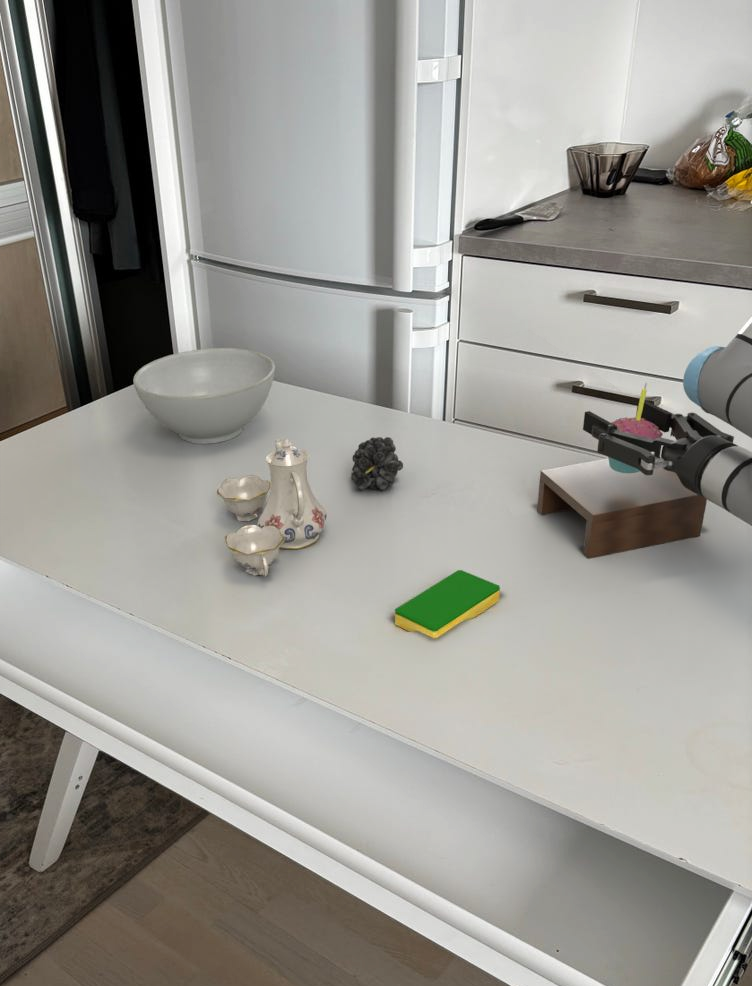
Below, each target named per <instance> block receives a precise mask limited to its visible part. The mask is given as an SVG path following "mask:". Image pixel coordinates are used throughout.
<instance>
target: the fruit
mask: <svg viewBox="0 0 752 986" xmlns="http://www.w3.org/2000/svg"><path fill="white" fill-rule="evenodd" d="M396 450H397V449H396V445H395V444H394V440H393V438H391V437H390V436H389V437H388V436H386V437H385V438H383V437H380V436H378V437H374V436H373V437H371V438H369V439H367V440H365V441H362V442H360V443H359V445H358V448H357V450H355V452H354V454H353V455H352V462H353V463H354V464H353V467H352V468H351V470H352V472H351V474H350V478H351V481H352V482H355V483H356V485H357V488H358V489H360V490H365V489H368V488H369V489H371V490H373V491H376V490H377V489H379V490H382V491H383V490H384V491H385V490H387V488H388V487H389V486H392V485H394V482H395V477H397V475H398V472H399V471H401V470H402V469H403V468H404V463H403V462H402V460H400V459H399V457H398V455H397V454H396V453H395V452H396Z"/></svg>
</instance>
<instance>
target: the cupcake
mask: <svg viewBox="0 0 752 986" xmlns="http://www.w3.org/2000/svg"><path fill="white" fill-rule="evenodd" d="M647 385H648V383H647V382H645V384H644V387H643V388H642V389H641V392H640V397H639V400H640V401H639V406H638V410H637V409H636V412H637V415H636V414H635V417H627V416H625V417H620V418H618V419H615V420H613V421H612V422H611V421H610V423H612V424H615V425H616V426H617V430H618V431H622V432H626V433H630V434H634V435H639V436H643V437H647V438H651V439H655V440H656V439H657V438H659V437H661V438H662V437H663V435H664V432H662V431H661V430H660V429H658V426H655V424H653V423H652V422H649V421H647V420H644V418H641V414H642V410H643V405H644V401H645V400H646V396H647V391H648V390H647ZM607 458H608V459H609V465H610V467H611V468H612V469H613V470H615V471H617V472H621V473H636V472H639V471H640V470H638V469H637V468H634V467H632V466H629V465H627V464H625V463H622V462H620V461H617V460H615V459H612V458H610V457H608V456H607Z"/></svg>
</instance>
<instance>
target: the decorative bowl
mask: <svg viewBox="0 0 752 986" xmlns="http://www.w3.org/2000/svg"><path fill="white" fill-rule="evenodd" d="M275 371H276V365H275V363H274V361H273V360H272V358H270V357H269V356H267V355H266V354H264V353H261V352H259V351H254V350H250V349H244V348H237V347H236V348H235V347H234V348H233V347H212V348H211V347H210V348H199V349H193V350H187V351H181V352H177V353H173V354H169V355H166V356H163V357H160V358H158V359H154V360H153V361H151V362H149V363H147V364H144V365H143V366H141V368H139V369H138V370H137V371H136V373H135V374H134V376H133V380H132V381H133V386H134V390H135V391H136V393H137V395H138V397H139V399H140V400H141V403H142V404H143V406H144V407H145V408H146V410H147V411H148V412H149V413H150V415H151V416H152V417H153V418H154V419H155V420H156V421H157V422H158V423H160V424H161V425H162V426H163V427H165V428H166V429H168V430H170V431H172V432H174V433H176V434H179V437H180V438H181V439H182V440H184V441H185V442H189V443H192V444H197V445H209V444H218V443H222V442H225V441H229V440H232V439H234V438H236V437H238V435H240V434H241V433H242V432H243V428H244V427H245V426H246V425H247V424H249V423H250V422H251V421H253V419H254V418H255V417H256V416H257V415H258V413H259V412H260V410H261V409H262V408H263V406H264V405H265V403H266V400H267V399H268V397H269V393H270V392H271V389H272V386H273V382H274V377H275V373H276V372H275Z"/></svg>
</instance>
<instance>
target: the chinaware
mask: <svg viewBox="0 0 752 986" xmlns="http://www.w3.org/2000/svg"><path fill="white" fill-rule="evenodd" d="M274 446H275V450H273V451H272V452H269V453H268V454H267V455H266V456H265V461H266V463H267V465H268V468H269V473H270V481H269V480H262V478H260V477H259V476H257V475H253V474H250V475H245V476H243V477H241V478H234V477H230V478H226V479H225V480H223V481H222V483H221V485H220V487H219V488H217V490H216V495H218V496H219V497H221V498H222V500H223V503H224V505H225V506H226V508H227V509H228V510H229V511H230V512H231V513H232V514H234V515H235V516H236V519H237V521H239V522H240V521H241V522H250V521H251V522H252V521H254V520H255V519H257V524H246V525H243V526H241V527H239V528H238V530H236V532H231V533H228V534H227V535H226V536H225V538H224V539H225V543H226V546H227V547H228V549H229V551H231V553H232V556H233V558H234V559H235V561H236V562H237V563H238V564H239V565H240V566H242V567H243V568H245V573H248V574H249V575H252V576H254V577H256V576H264V577H267V576H268V575H269V569H270V567H271V565H272V564H273V563H274V562H275V560H276V559H277V557H278V555H279V551H280V550H287V551H288V550H289V551H292V550H293V551H294V550H301V549H304V548H308V547H310V546H312V545H314V544H316V543H317V542H318V541H319V539H320V538H321V533H322V531H323V529H324V525H325V522H326V520H327V515H328V514H327V512H326V510H325V508H324V507H323V506H322V505H321V503H320V502H319V501H318V500H317V498H316V497H315V495H314V494H313V491H312V489H311V486H310V483H309V480H308V471H307V466H308V459H309V458H310V453H309V452H307V451H306V450H304V449H301V448H298V447H296V446H294V445H292V442H290V440H289V439H287V438H286V439H284V440H283V441H282V439H280V438H279V439H275V440H274ZM268 492H269V494H268ZM267 494H268V498H267ZM266 500H267V501H266ZM260 510H261V513H260V516H259V518H258V514H257V513H259V512H260Z"/></svg>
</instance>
